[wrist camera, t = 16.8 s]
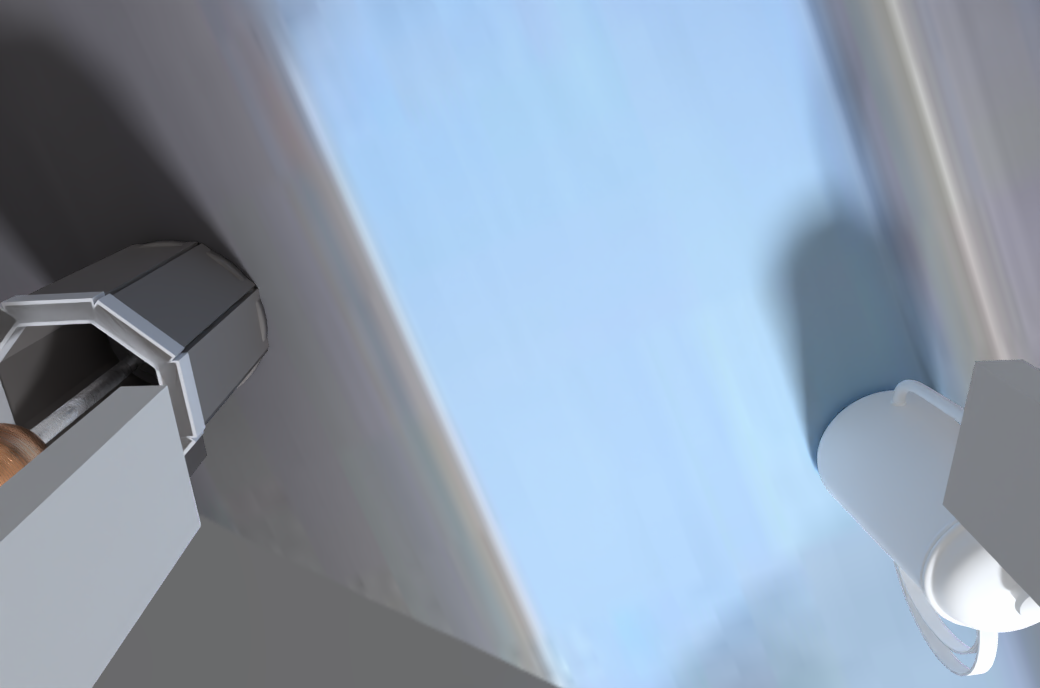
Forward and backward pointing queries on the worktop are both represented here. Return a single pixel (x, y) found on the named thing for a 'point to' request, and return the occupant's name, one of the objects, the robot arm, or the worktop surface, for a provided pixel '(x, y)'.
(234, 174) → the worktop surface
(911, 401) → the coffeepot
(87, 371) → the grey octagonal tube
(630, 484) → the worktop surface
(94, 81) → the worktop surface
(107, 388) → the copper ball knob
